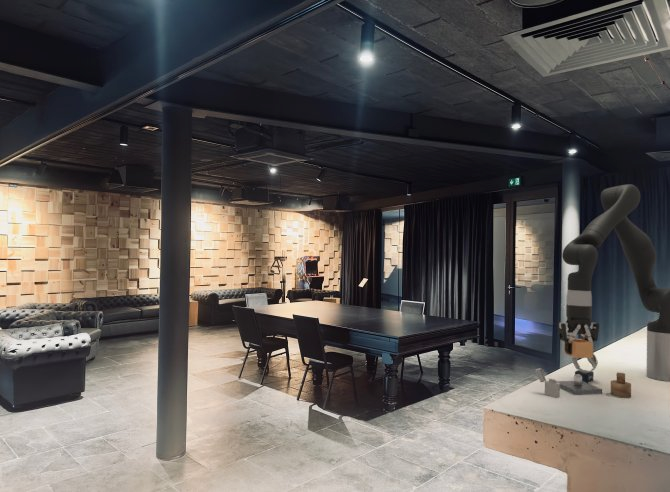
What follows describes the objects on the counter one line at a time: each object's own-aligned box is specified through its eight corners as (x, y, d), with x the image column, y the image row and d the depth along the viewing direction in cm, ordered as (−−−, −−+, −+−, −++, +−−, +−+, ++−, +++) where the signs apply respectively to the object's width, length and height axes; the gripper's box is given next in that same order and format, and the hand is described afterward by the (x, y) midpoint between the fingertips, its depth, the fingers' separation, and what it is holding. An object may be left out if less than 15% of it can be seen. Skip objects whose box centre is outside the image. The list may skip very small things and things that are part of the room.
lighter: (559, 396, 145) (560, 371, 145) (558, 397, 143) (558, 372, 143) (536, 391, 149) (536, 367, 149) (534, 392, 148) (535, 368, 148)
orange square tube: (580, 353, 156) (580, 338, 156) (593, 357, 150) (593, 342, 150) (563, 353, 155) (563, 338, 155) (576, 357, 149) (576, 342, 149)
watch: (594, 384, 159) (594, 352, 159) (569, 379, 165) (570, 349, 165) (599, 381, 163) (599, 350, 163) (575, 376, 169) (575, 347, 169)
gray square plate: (581, 384, 158) (581, 370, 158) (602, 393, 148) (602, 378, 148) (554, 385, 157) (555, 371, 157) (574, 394, 147) (574, 379, 147)
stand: (621, 392, 150) (621, 371, 150) (635, 397, 145) (635, 375, 145) (606, 392, 150) (606, 371, 150) (619, 398, 144) (620, 376, 144)
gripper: (590, 302, 158) (589, 351, 158) (552, 302, 156) (551, 351, 155) (606, 305, 150) (605, 356, 150) (566, 304, 148) (565, 356, 148)
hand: (577, 353), depth 153 cm, fingers closed on orange square tube, 6 cm apart
